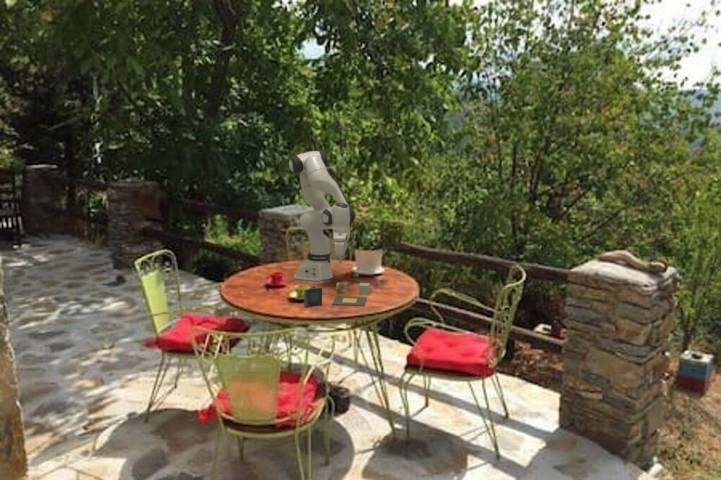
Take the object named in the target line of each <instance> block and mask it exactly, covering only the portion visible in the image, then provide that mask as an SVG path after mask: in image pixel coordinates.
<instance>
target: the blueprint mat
mask: <svg viewBox="0 0 721 480" xmlns="http://www.w3.org/2000/svg"><path fill="white" fill-rule="evenodd" d="M367 298H368V297H367V296H366V297H365V296H345V295H344V296H342V295H341V296H339V295H338V296H337V295H336V296H335V297H334V299H333V301H332V303H331V306H341V305H342V306H345V307H347V306H348V307H349V306H350V307H365V306H366V303H367Z"/></svg>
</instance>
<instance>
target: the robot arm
mask: <svg viewBox="0 0 721 480" xmlns="http://www.w3.org/2000/svg"><path fill="white" fill-rule="evenodd" d="M288 160H289V161H288V167H289V169H290V171H291V172H292V173H293V174H295V175H299V182H300V187H301V191H302V196H303V199H304V202H305V203H306V204H307V205H309V206H310V207H311V208H312V209H313V210H309V211H307V212H304V213H302V214H301V215H300V218H299V225H300V227H301V228H302V230H304V232H306V233H307V235H308V237H309V244H310V251H308V252H307V254H306V260H305V261H303V262H302V263H300V265H299V266H298V267H297V272H295V273H294V275H293V279H294V280H301V281H302V280H304V281H315V282H320V281H325V280H330V279H332V278H333V277H334V275H333V271H332V266H331V262H332V255H331V240H330V238H329V237H328V236H326V235H325V234H324V230H325V229H330V228H332V240H333V242H334V254H335V257H337V260H338V264H342V263H343V260H345V257H346V255H345V254H346V250H347V248H348V242H349V241H348V240H349V239H350V238H351V228H350V226H351V225H352V224H353V223H354V222H355V220H356V216H357V215H356V212H355V210H354V208H353V207H352V205H351V204H350V203H349V200H348V199H347V197H346V195H345V194H344V193H345V192H344V191H343V190H342V188H341V186H340V184H339V183H338V182H337V181H336V180H334V179H333V178H332V177H331V175H330V174H329V172H328V168H327V166H328V165H329V158H328V155H327V153H326V151H325V150H320V149H319V150H318V149H317V150H312V151H307V152H303V153H299V154H295V155H292V156H290V158H289V159H288ZM324 193H325V194H326V193H327V194H328V195H331V196H332V197H333V198H334V200H335V202H336V203H334V204H333V206H331V205H330V204H329V202H328V201H327V199H326V197H325V194H324Z"/></svg>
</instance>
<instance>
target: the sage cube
mask: <svg viewBox="0 0 721 480" xmlns="http://www.w3.org/2000/svg"><path fill="white" fill-rule="evenodd" d="M358 295H359V296H361V295H362V296H369V295H370V282H369V283H368V282H367V283H366V282H359V284H358Z"/></svg>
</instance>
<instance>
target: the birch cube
mask: <svg viewBox="0 0 721 480" xmlns="http://www.w3.org/2000/svg"><path fill="white" fill-rule="evenodd" d="M347 285H348V283H347V282H338V281H337V283H336V285H335V294H336V295H346V294H347V292H348V287H347Z"/></svg>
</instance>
